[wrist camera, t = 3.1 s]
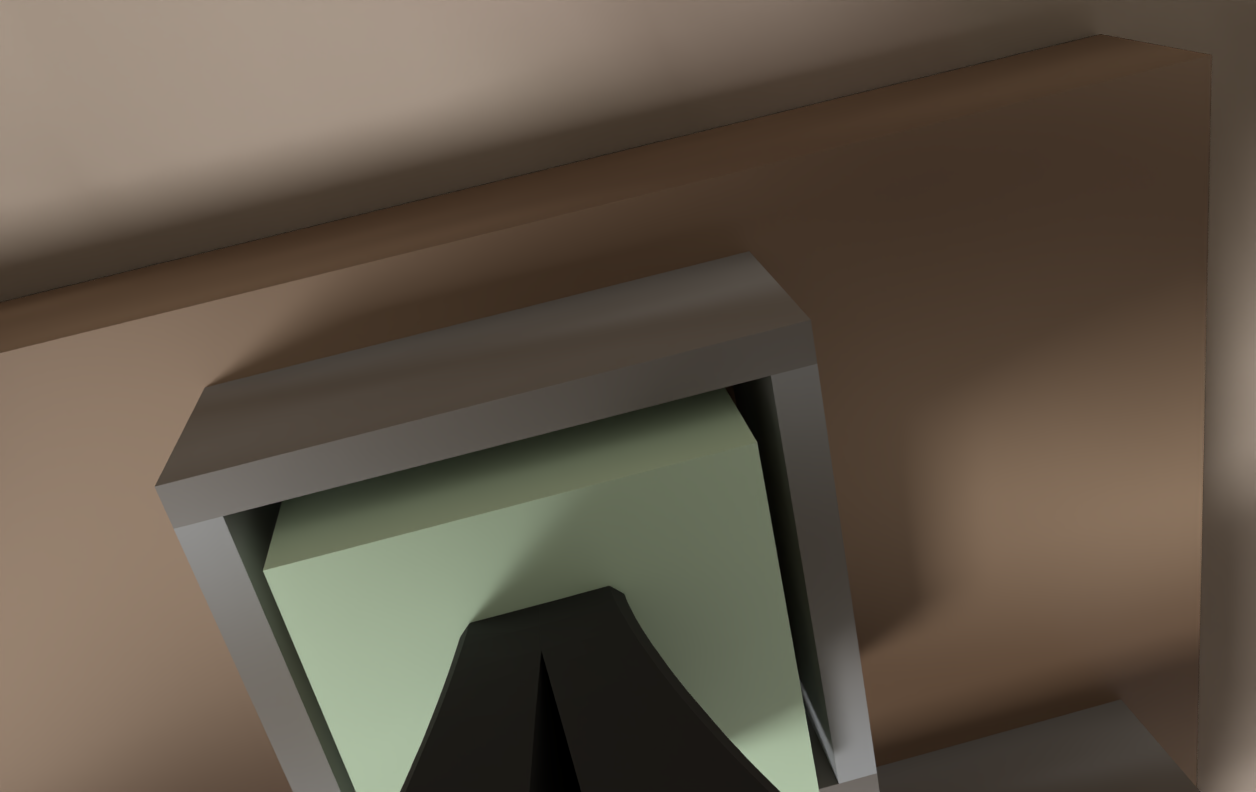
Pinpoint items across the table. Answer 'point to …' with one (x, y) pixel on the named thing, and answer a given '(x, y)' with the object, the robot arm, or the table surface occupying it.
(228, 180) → the table surface
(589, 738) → the robot arm
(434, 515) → the green button
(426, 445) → the console
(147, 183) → the table surface
